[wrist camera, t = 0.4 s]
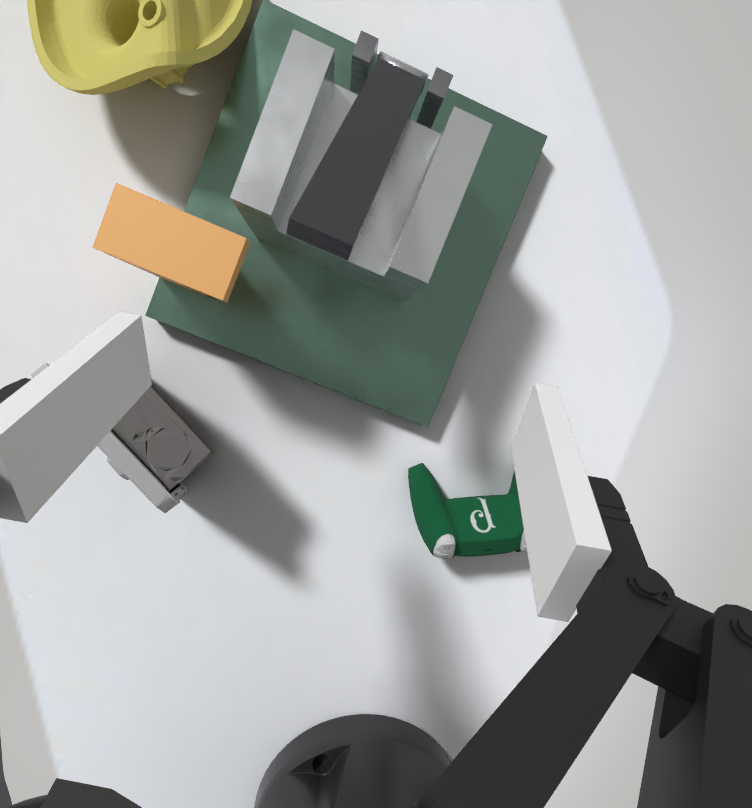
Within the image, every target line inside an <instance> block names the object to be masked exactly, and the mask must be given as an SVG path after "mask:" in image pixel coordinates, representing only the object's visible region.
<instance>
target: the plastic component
mask: <svg viewBox="0 0 752 808" xmlns="http://www.w3.org/2000/svg"><path fill="white" fill-rule="evenodd" d="M252 1H253V0H27V5H28V13H29V21H30V27H31V33H32V39H33V42H34V46H35V50H36V53H37V55H38V58H39V60H40V62H41V64H42V66H43V68H44V69H45V71H46V72H47V73H48V75H49V76H50V77H51V78H52V79H53V80H54V81H56V82H57V83H58V84H60V85H61V86H63V87H65V88H67V89H70V90H72V91H75V92H78V93H82V94H90V95H95V94H105V93H111V92H115V91H119V90H123V89H125V88H128V87H131V86H133V85H136V84H138V83H140V82H143V81H145V80H147V79H151V80H152V81H154V82H155V83H157V84H158V85H159V86H161V87H162V88H164V89H167V87H168V85H169V84H174V83H176V82H178V83H180V84H182V83H183V82H184V75H185V74H186V72H187V70H188V68H189V67H193V65H194V64H197V63H200V62H203V61H206V60H208V59H210V58H212V57H214V56H216V55H218V54H219V53H221V52H222V51H223V50H225V49H226V48H227V47H228V46H229V45H230V44H231V43H232V42H233V41H234V40H235V38H236V37H237V36H238V34H239V33H240V31H241V30H242V28H243V26H244V24H245V22H246V19H247V17H248V15H249V12H250V10H251V5H252Z"/></svg>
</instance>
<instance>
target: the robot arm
mask: <svg viewBox="0 0 752 808" xmlns="http://www.w3.org/2000/svg"><path fill="white" fill-rule="evenodd" d="M151 385H152V381H151V375H150V369H149V362H148V356H147V349H146V343H145V336H144V330H143V323H142V317H141V315H137V314H131V313H125V312H117V313H116V314H115V315H114V316H112V317H111V318H110V319H108V320H107V321H106V322H105V323H103V324H102V325H101V326H99V327H98V328H97V329H96V330H94V331H93V332H92V333H90V334H89V335H88V336H87V337H85V338H84V339H83V340H81V341H80V342H79V343H78V344H76V345H75V346H74V347H72V348H71V349H70V350H69V351H67V352H66V353H65V354H64V355H62V356H61V357H60V358H58V359H57V360H56V361H55V362H53V363H52V364H51V365H49V366H48V367H47V368H46V369H44V370H43V371H42V372H40V373H39V374H38V375H37V376H35V377H34V378H33V379H27V378H24V379H21V380H19V381H17V382H14V383H12V384H9V385H7V386H5V387H3V388H2V389H1V390H0V518H3V519H9V520H14V521H20V522H25V523H28V522H29V521H30V519H31V518H32V517H33V516H34V515H35V514H36V513H37V512H38V511H39V509H40V508H41V507H42V506H43V505H44V504H45V503H46V502H47V501H48V499H49V498H50V497H51V496H52V495H53V494H54V493H55V492H56V491H57V489H58V488H59V487H60V486H61V485H62V484H63V483H64V482H65V481H66V479H67V478H68V477H69V476H70V475H71V474H72V473H73V472H74V471H75V469H76V468H77V467H78V466H79V465H80V464H81V463H82V462H83V461H84V459H85V458H86V457H87V456H88V455H89V454H90V453H91V452H92V451H93V449H94V448H95V447H96V446H97V445H98V444H99V443H100V442H101V441H102V439H103V438H104V437H105V436H106V435H107V434H108V433H109V432H110V430H111V429H112V428H113V427H114V426H115V425H116V424H117V423H118V422H119V420H120V419H121V418H122V417H123V416H124V415H125V414H126V413H127V412H128V410H129V409H130V408H131V407H132V406H133V405H134V404H135V403H136V402H137V400H138V399H139V398H140V397H141V396H142V395H143V394H144V393H145V392H146V390H147V389H148V388H149V387H150V386H151ZM511 450H512V456H513V463H514V469H515V475H516V482H517V488H518V495H519V501H520V507H521V514H522V520H523V527H524V533H525V539H526V546H527V552H528V559H529V565H530V571H531V578H532V584H533V591H534V597H535V603H536V610H537V616H539V617H544V618H550V619H555V620H561V621H566V622H568V621H569V620H570V618H571V616H572V615H573V613H574V611H575V610H576V608H577V612H578V614H577V615H576V616H575V618H574V619H573V620H572V621H571V622H570V624H569V625H568V626H567V627H566V628H565V629H564V631H563V632H562V633H561V634H560V635H559V636H558V638H557V639H556V640H555V641H554V642H553V643H552V645H551V646H550V647H549V648H548V649H547V650H546V652H545V653H544V654H543V655H542V656H541V658H540V659H539V660H538V661H537V662H536V663H535V665H534V666H533V667H532V668H531V669H530V670H529V672H528V673H527V674H526V675H525V676H524V678H523V679H522V680H521V681H520V682H519V683H518V685H517V686H516V687H515V688H514V689H513V690H512V692H511V693H510V694H509V695H508V696H507V698H506V699H505V700H504V701H503V702H502V703H501V705H500V706H499V707H498V708H497V709H496V711H495V712H494V713H493V714H492V715H491V716H490V718H489V719H488V720H487V721H486V722H485V723H484V725H483V726H482V727H481V728H480V729H479V731H478V732H477V733H476V734H475V735H474V736H473V738H472V739H471V740H470V741H469V742H468V743H467V745H466V746H465V747H464V748H463V749H462V751H461V752H460V753H459V754H458V755H457V756H456V758H455V759H454V760H453V761H452V762H451V761H450V760H449V758H448V756H447V755H446V753H445V752H444V751H443V749H442V748H441V747H440V746H439V745H438V744H437V743H436V742H435V741H434V740H433V739H432V738H431V737H430V736H429V735H427V734H426V733H425V732H423V731H422V730H420V729H419V728H417V727H415V726H413V725H411V724H409V723H407V722H404V721H401V720H399V719H395V718H392V717H387V716H381V715H371V714H359V715H350V716H343V717H339V718H335V719H332V720H328V721H326V722H323V723H321V724H318V725H316V726H314V727H312V728H310V729H308V730H307V731H305V732H303V733H302V734H300V735H299V736H298V737H296V738H295V739H294V740H292V741H291V742H290V743H289V744H288V745H287V746H286V747H285V748H284V749H283V750H282V751H281V752H280V753H279V754H278V755H277V756H276V758H275V759H274V760H273V762H272V763H271V764H270V766H269V768H268V769H267V771H266V773H265V775H264V777H263V779H262V781H261V783H260V786H259V789H258V792H257V796H256V801H255V807H254V808H544V806H545V805H546V803H547V802H548V800H549V799H550V797H551V795H552V794H553V793H554V791H555V790H556V788H557V786H558V785H559V783H560V782H561V780H562V779H563V777H564V776H565V774H566V773H567V771H568V770H569V768H570V767H571V765H572V764H573V762H574V760H575V759H576V757H577V756H578V754H579V753H580V751H581V750H582V748H583V747H584V745H585V743H586V742H587V741H588V739H589V738H590V736H591V734H592V733H593V731H594V730H595V728H596V727H597V725H598V724H599V722H600V721H601V719H602V718H603V716H604V715H605V713H606V711H607V710H608V709H609V707H610V705H611V704H612V702H613V701H614V699H615V698H616V696H617V695H618V693H619V692H620V690H621V689H622V687H623V685H624V684H625V683H626V681H627V679H628V678H629V676H630V675H631V673H633V674H635V675H637V676H639V677H641V678H643V679H645V680H647V681H650V682H651V683H653V684H655V685H657V686H658V692H657V697H656V702H655V709H654V714H653V720H652V725H651V731H650V737H649V743H648V748H647V754H646V760H645V765H644V771H643V777H642V783H641V788H640V795H639V800H638V806H637V808H752V611H750V610H749V609H746V608H743V607H741V606H738V605H729V604H725V605H723V606H721V607H719V608H718V609H717V610H716V611H715V612H714V613H711V612H709V611H706V610H704V609H702V608H700V607H697V606H695V605H693V604H691V603H688V602H686V601H684V600H682V599H680V598H678V597H676V596H675V594H674V590H673V589H672V587H671V586H670V585H669V583H668V582H667V580H665V578H663V577H662V576H661V575H660V574H659V573H657V572H656V571H655V570H652V569H651V568H649V567H648V564H647V562H646V560H645V557H644V554H643V552H642V549H641V546H640V544H639V541H638V539H637V536H636V534H635V531H634V528H633V526H632V524H630V518H629V515H628V513H627V512H626V511H625V510H626V508H625V505H624V503H623V500H622V498H621V495H620V493H619V492H618V491H617V490H616V488H615V487H614V486H613V485H612V484H611V483H610V482H609V480H608V479H603V478H597V477H591V476H587V473H586V470H585V467H584V464H583V461H582V458H581V455H580V452H579V449H578V446H577V443H576V440H575V437H574V433H573V430H572V427H571V424H570V421H569V418H568V415H567V412H566V409H565V406H564V403H563V400H562V397H561V394H560V391H559V388H558V387H556V386H550V385H544V384H538V383H535V384H534V387H533V389H532V392H531V395H530V397H529V400H528V403H527V406H526V408H525V411H524V414H523V416H522V419H521V422H520V425H519V427H518V430H517V433H516V435H515V438H514V441H513V443H512V446H511ZM0 808H142V807H140V806H138V805H137V804H135V803H134V802H132V801H130V800H129V799H127V798H125V797H124V796H122V795H120V794H119V793H117V792H116V791H114V790H112V789H109V788H104V787H99V786H94V785H88V784H83V783H78V782H73V781H68V780H63V779H58V778H56V780H55V782H54V784H53V785H52V787H51V789H50V791H49V793H48V795H44V796H39V797H36V798H32V799H28V800H25V801H22V802H19V803H17V804H14V805H12V802H11V798H10V795H9V791H8V788H7V785H6V782H5V778H4V774H3V764H2V751H1V738H0Z"/></svg>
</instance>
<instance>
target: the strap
mask: <svg viewBox="0 0 752 808" xmlns="http://www.w3.org/2000/svg"><path fill="white" fill-rule="evenodd" d="M428 75H429V74H427V73H425V72H423V71H421V70H419V69H417V68H415V67H412V66H410V65H408V64H406V63H404V62H402V61H400V60H398V59H396V58H394V57H392V56H390V55H388V54H386V53H383V52H380V54H379V56H378V58H377V61H376V64H375V65H374V67H373V69H372V71H371V73H370V74H369V76H368V78H367V80H366V82H365V83H364V85H363V87H362V89H361V90H360V92H359V94H358V96H357V98H356V99H355V101H354V103H353V105H352V107H351V108H350V110H349V112H348V114H347V115H346V117H345V119H344V121H343V123H342V124H341V126H340V128H339V130H338V132H337V133H336V135H335V137H334V139H333V140H332V142H331V144H330V146H329V148H328V149H327V151H326V153H325V155H324V156H323V158H322V160H321V162H320V164H319V165H318V167H317V169H316V171H315V173H314V174H313V176H312V178H311V180H310V181H309V183H308V185H307V187H306V189H305V190H304V192H303V194H302V196H301V198H300V199H299V201H298V203H297V205H296V206H295V208H294V210H293V212H292V214H291V215H290V217H289V221H288V227H287V232H286V234H287V235H289V236H291V237H294V238H296V239H298V240H301V241H303V242H305V243H308V244H310V245H312V246H315V247H317V248H319V249H322V250H324V251H326V252H329V253H331V254H333V255H336V256H338V257H340V258H343V259H345V260H347V261H348V260H349V257H350V255H351V253H352V250H353V248H354V246H355V244H356V241H357V239H358V237H359V234H360V232H361V230H362V227H363V225H364V223H365V220H366V218H367V216H368V213H369V211H370V209H371V207H372V204H373V202H374V200H375V197H376V195H377V193H378V190H379V188H380V186H381V183H382V181H383V179H384V176H385V174H386V172H387V169H388V167H389V165H390V163H391V160H392V158H393V156H394V153H395V151H396V149H397V146H398V144H399V142H400V139H401V137H402V135H403V132H404V130H405V128H406V126H407V123H408V121H409V119H410V116H411V114H412V112H413V109H414V107H415V105H416V102H417V100H418V98H419V95H420V96H421V94H422V91H423V89H424V86H425V83H426V81H427V78H428Z"/></svg>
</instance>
